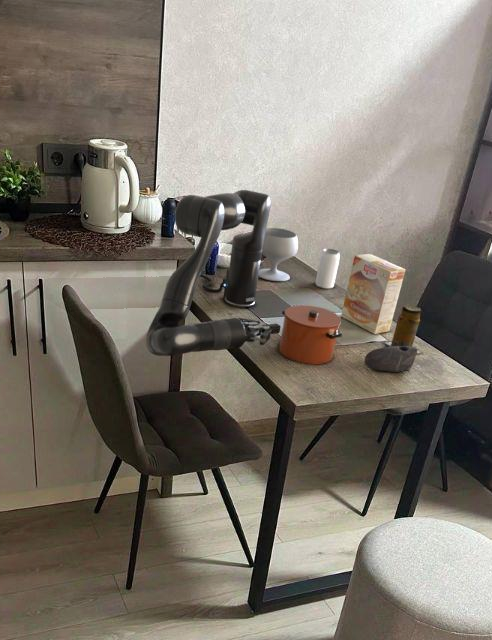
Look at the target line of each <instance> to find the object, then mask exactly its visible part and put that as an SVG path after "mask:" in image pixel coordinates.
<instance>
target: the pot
mask: <svg viewBox="0 0 492 640" xmlns="http://www.w3.org/2000/svg"><path fill="white" fill-rule="evenodd" d="M281 315H283V316H284V318H283V324H282V330H281V336H280V340H279V346H278V350H279V352H280V353H281V354H282V355H283V356H284V357H286V358H288V359H290V360H292V361H296V362H298V363H303V364H310V365H311V364H312V365H317V364H318V365H319V364H320V365H321V364H325V363H328V362H330V361H331V360H332V359H333V356H334V353H335V347H336V343H337V339H338V338H341V337H342V336H343V332H341V331H339V329H340V326H341V324H342V319H341V318H342V317H341V316H339V315H338V314H336V313H335V312H334V311H331V310H329V309H326V308H322V307H318V306H313V305H301V304H300V305H292V306H289V307H287V308H286V309H284V310H282V312H281Z"/></svg>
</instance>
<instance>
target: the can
mask: <svg viewBox="0 0 492 640" xmlns="http://www.w3.org/2000/svg"><path fill="white" fill-rule="evenodd" d="M319 257H320V258H319V262H318V267H317V271H316V272H317V273H316V278H315V282H314V283H315V286H316V287H318V288H321V289H327V290H329V289H332V288H334V286H335V283H336V277H337V272H338V269H339V264H340V258H341V257H340V251H339V250H337V249H333V248H323V249H322V251H321V254H320V256H319Z"/></svg>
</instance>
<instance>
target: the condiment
mask: <svg viewBox="0 0 492 640" xmlns="http://www.w3.org/2000/svg"><path fill="white" fill-rule="evenodd" d="M421 313H422V310H421V308H420V307H418V306H416V305H412V304H405V305H403V306H402V309H401V312H400V314H399V315H398V318H397V322H396V325H395V329H394V332H393V337H392V338H391V339H392V340H391V341H385V342H384V344H386V345H387V346H388V347H391V346H408V347H414V346H413V345H414V342H415V339H416V335H417V332H418V328H419V324H420V322H421V320H420V319H421V318H420V317H421ZM421 353H422V351H421V350H418V349H417V354H421Z"/></svg>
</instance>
